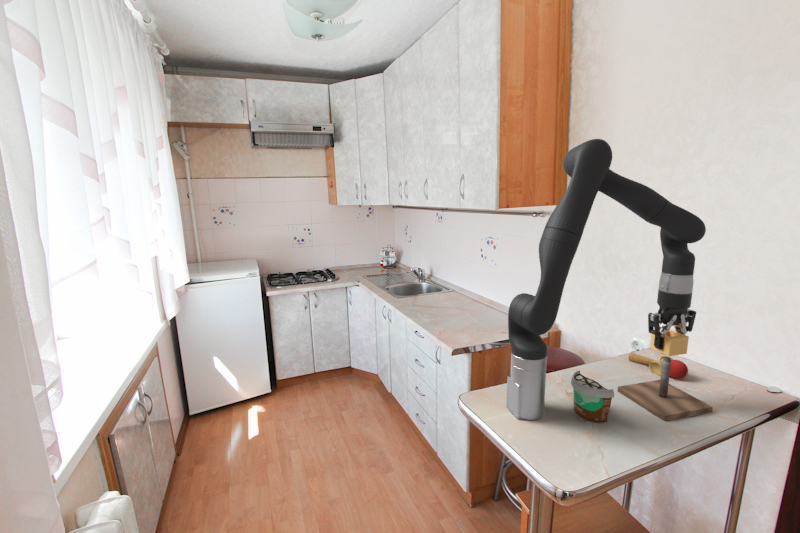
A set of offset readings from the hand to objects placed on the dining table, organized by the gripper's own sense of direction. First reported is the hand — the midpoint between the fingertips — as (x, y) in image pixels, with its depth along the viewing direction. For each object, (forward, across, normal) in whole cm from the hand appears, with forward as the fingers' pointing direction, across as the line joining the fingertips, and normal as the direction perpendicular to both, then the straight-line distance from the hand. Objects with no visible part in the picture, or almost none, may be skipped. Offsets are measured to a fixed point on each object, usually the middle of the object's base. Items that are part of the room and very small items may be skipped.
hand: (668, 347), depth 107 cm
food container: (+17, -26, 0) cm, 31 cm away
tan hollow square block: (+1, 0, 0) cm, 1 cm away
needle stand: (+17, 0, 0) cm, 17 cm away
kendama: (+17, +15, +16) cm, 28 cm away
